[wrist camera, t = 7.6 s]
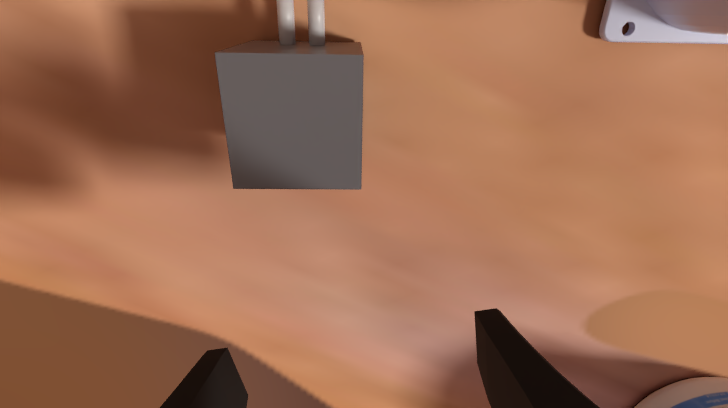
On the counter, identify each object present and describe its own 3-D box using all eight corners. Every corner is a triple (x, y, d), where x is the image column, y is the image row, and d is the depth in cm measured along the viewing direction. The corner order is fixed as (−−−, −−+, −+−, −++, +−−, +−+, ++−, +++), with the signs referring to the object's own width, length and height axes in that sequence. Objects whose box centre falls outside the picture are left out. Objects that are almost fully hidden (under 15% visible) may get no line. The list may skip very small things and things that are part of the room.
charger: (247, -16, 15) (203, -27, 11) (361, -14, 15) (364, -23, 11) (263, 144, 18) (233, 188, 14) (359, 145, 18) (361, 189, 14)
